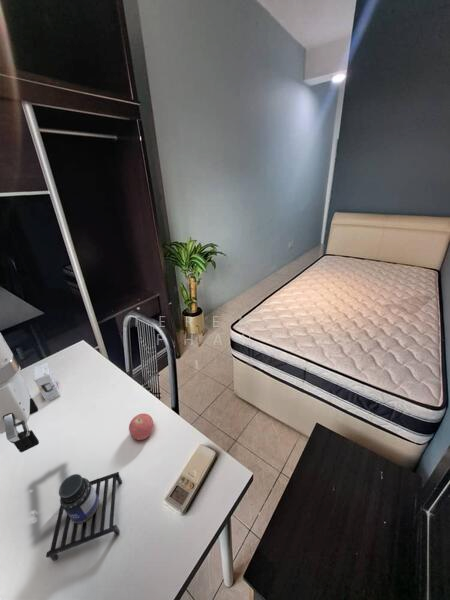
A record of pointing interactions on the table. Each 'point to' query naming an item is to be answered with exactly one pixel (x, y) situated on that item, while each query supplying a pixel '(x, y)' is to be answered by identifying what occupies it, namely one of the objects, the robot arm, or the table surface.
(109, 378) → the table surface
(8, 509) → the table surface
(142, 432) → the apple
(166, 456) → the table surface
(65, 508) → the pill bottle
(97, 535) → the wire rack
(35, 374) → the ink box
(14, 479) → the table surface
